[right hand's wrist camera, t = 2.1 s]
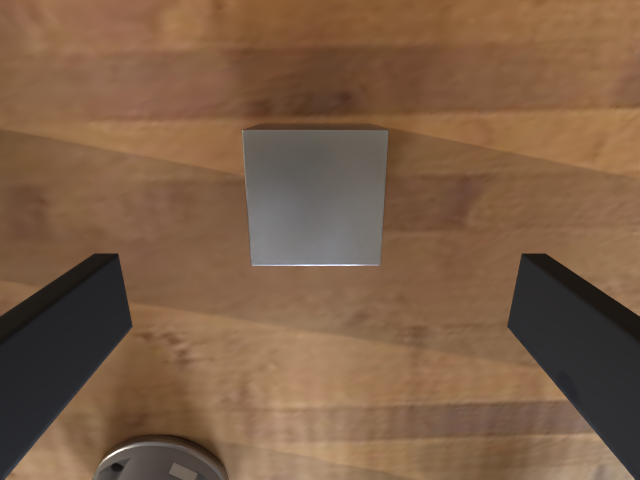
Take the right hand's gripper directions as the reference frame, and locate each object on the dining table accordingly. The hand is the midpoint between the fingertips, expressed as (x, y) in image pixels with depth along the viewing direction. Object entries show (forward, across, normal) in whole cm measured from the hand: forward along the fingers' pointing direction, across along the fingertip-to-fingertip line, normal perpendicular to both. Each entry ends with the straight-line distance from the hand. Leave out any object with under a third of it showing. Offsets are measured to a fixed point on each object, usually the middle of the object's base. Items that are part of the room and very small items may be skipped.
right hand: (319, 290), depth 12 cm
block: (+21, 0, 0) cm, 21 cm away
